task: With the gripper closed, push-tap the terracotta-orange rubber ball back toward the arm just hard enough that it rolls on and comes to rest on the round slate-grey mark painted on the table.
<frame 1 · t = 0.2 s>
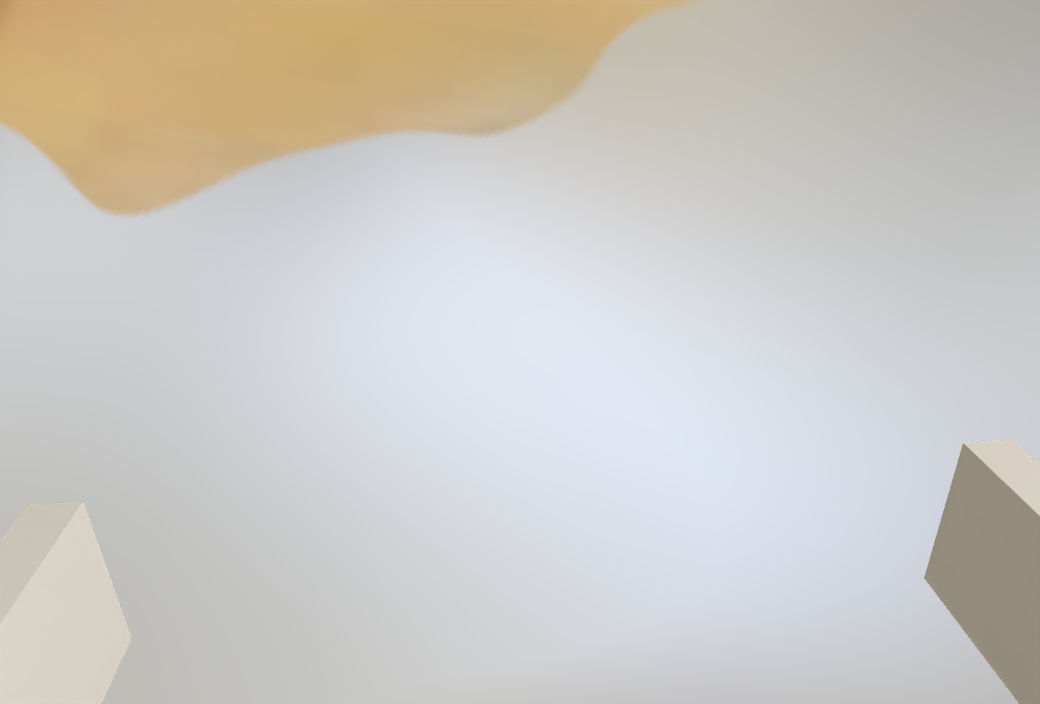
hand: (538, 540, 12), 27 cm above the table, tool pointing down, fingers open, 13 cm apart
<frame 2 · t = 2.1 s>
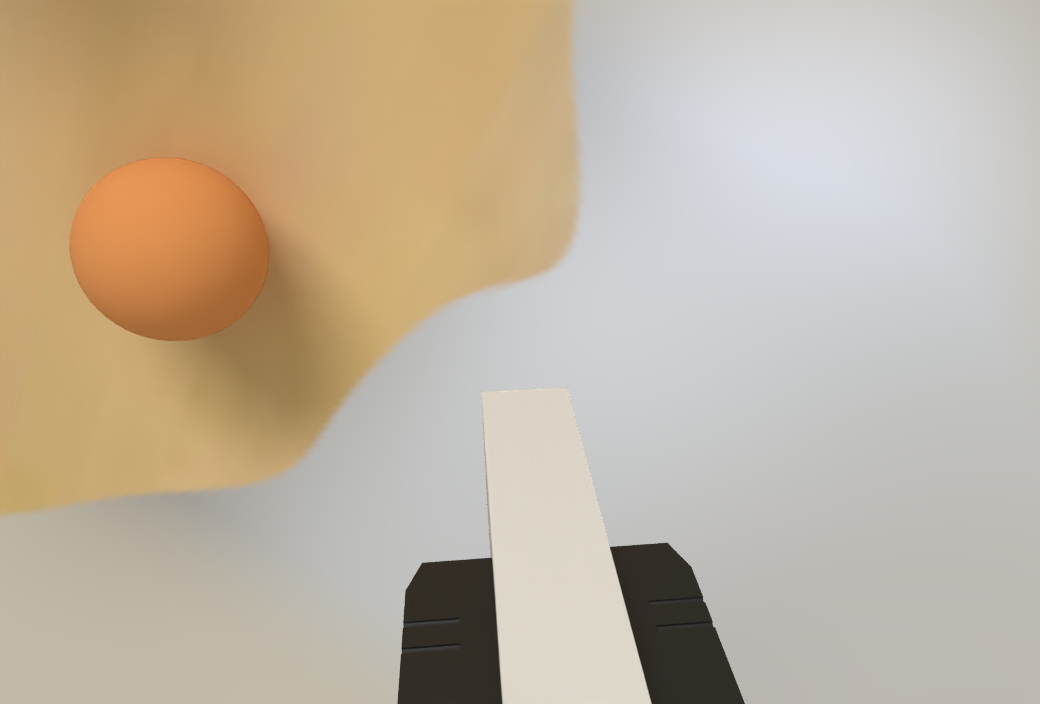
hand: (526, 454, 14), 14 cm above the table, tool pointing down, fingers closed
ball: (174, 250, 24), on the table
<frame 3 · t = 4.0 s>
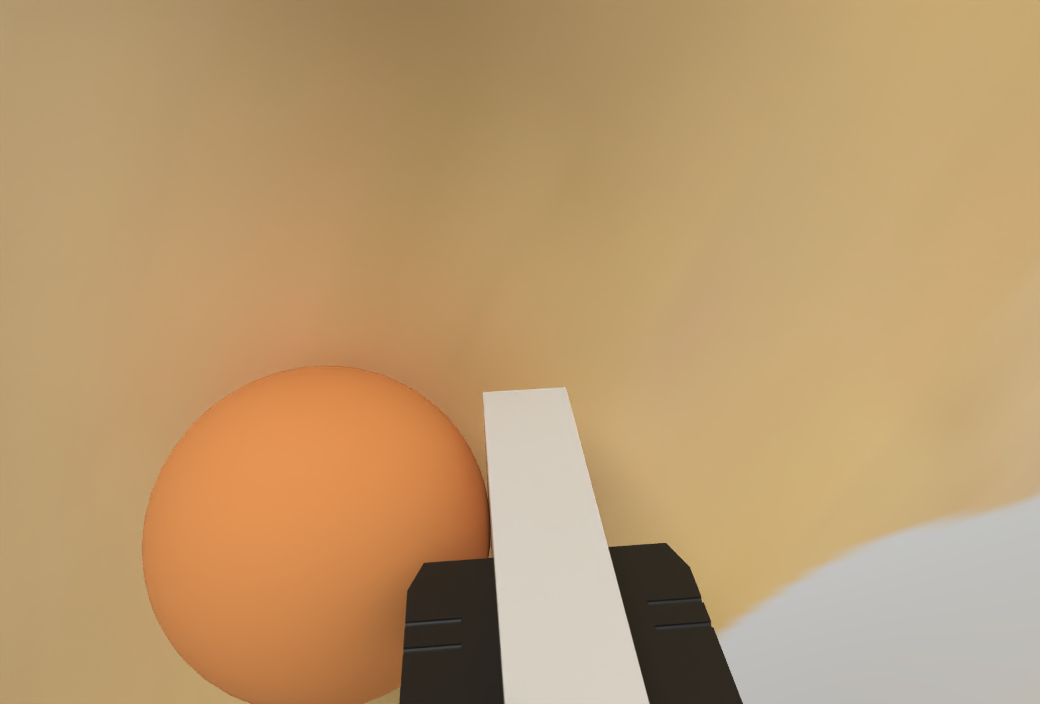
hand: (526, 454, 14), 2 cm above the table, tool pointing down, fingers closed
ball: (325, 530, 13), on the table, touching gripper
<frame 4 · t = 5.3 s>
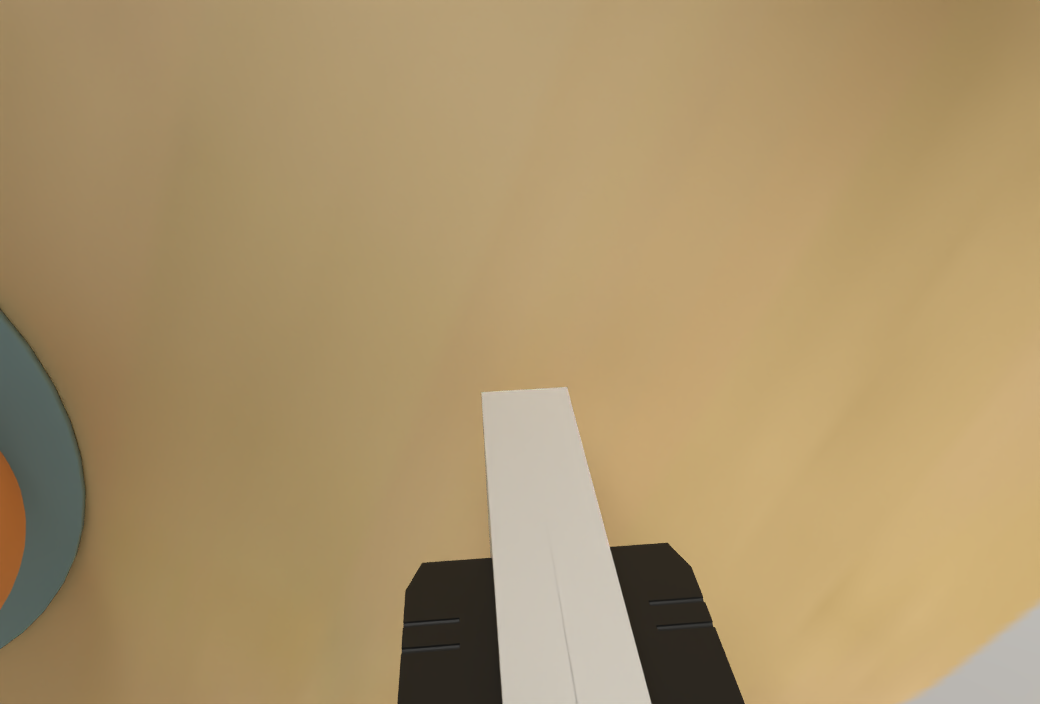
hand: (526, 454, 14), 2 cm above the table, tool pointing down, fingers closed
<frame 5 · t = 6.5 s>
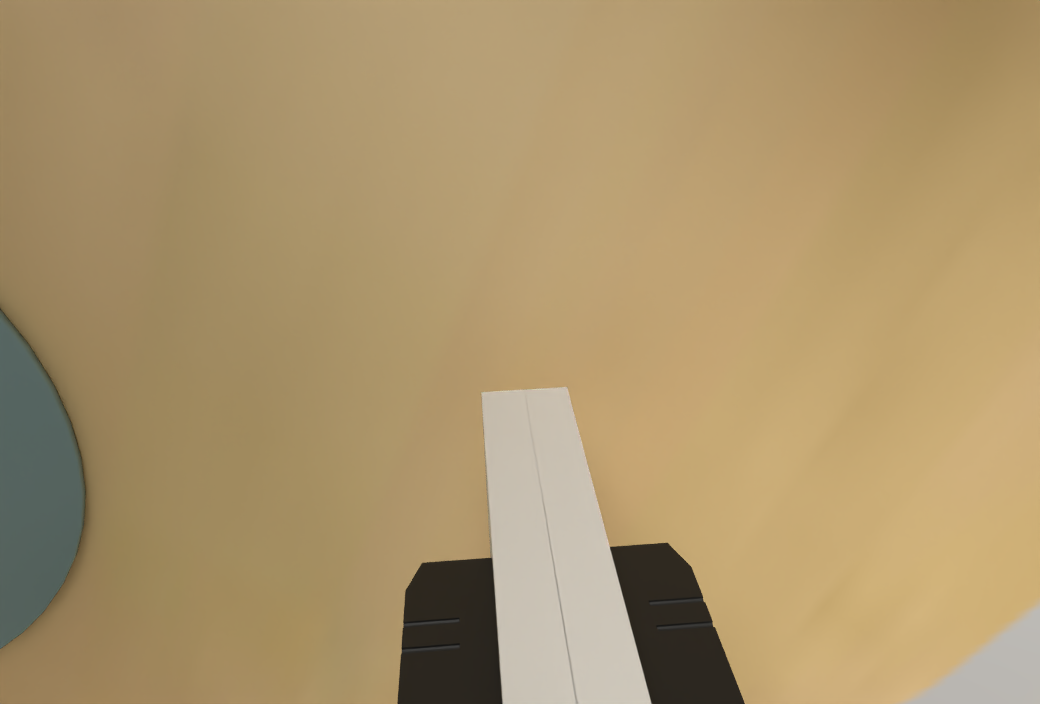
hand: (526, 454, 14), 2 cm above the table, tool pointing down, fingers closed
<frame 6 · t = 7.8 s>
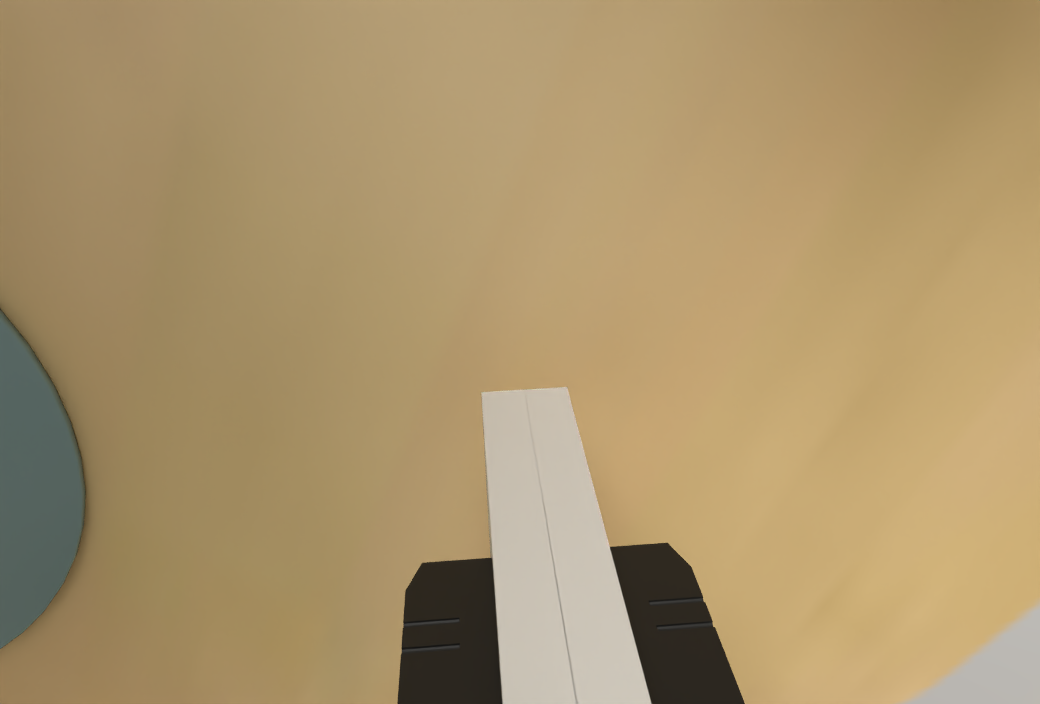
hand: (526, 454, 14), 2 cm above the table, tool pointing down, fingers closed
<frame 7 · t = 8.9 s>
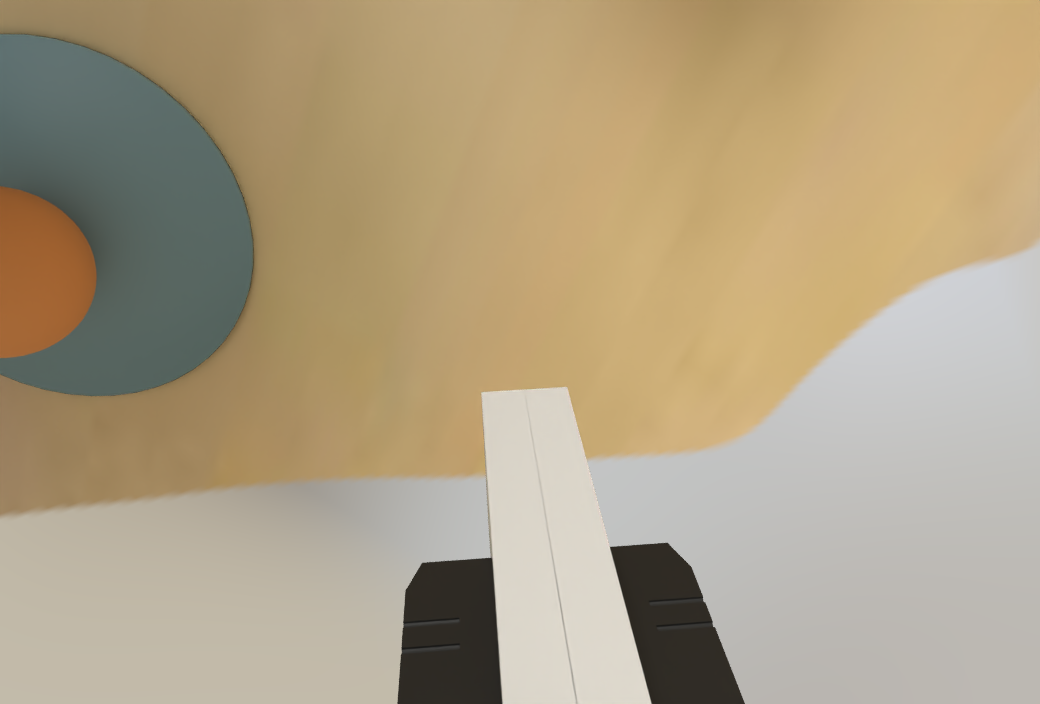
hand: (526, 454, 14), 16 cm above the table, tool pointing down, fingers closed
mark: (63, 232, 27), on the table
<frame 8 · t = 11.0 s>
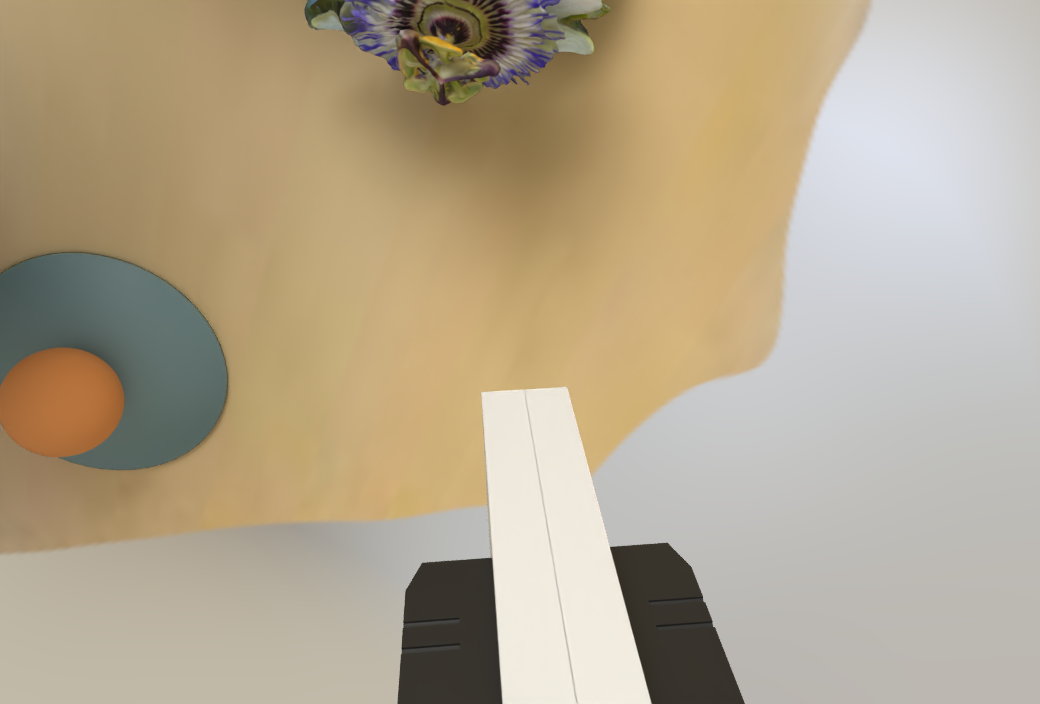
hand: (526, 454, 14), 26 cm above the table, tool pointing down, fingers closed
mark: (101, 368, 41), on the table
ball: (63, 402, 39), on the table
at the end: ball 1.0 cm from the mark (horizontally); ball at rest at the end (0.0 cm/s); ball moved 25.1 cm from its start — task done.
